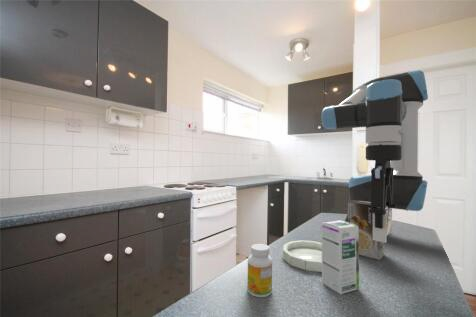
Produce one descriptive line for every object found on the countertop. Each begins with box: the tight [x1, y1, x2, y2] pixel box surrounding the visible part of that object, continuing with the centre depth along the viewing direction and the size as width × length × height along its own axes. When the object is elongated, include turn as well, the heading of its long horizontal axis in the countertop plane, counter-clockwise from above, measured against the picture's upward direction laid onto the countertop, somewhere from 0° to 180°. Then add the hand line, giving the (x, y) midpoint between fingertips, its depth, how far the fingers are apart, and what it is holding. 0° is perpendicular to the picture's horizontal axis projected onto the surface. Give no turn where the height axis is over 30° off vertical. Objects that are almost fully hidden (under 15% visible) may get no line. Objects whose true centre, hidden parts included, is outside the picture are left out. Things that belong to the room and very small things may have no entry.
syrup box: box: [321, 219, 360, 296], centre depth 53 cm, size 6×6×14 cm
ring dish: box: [282, 239, 322, 273], centre depth 67 cm, size 16×16×2 cm
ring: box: [379, 206, 393, 236], centre depth 57 cm, size 7×3×8 cm, turn 119°
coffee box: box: [347, 200, 385, 261], centre depth 72 cm, size 9×6×16 cm
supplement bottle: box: [247, 243, 273, 298], centre depth 50 cm, size 5×5×10 cm
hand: (382, 236), depth 57 cm, fingers closed on ring, 7 cm apart
